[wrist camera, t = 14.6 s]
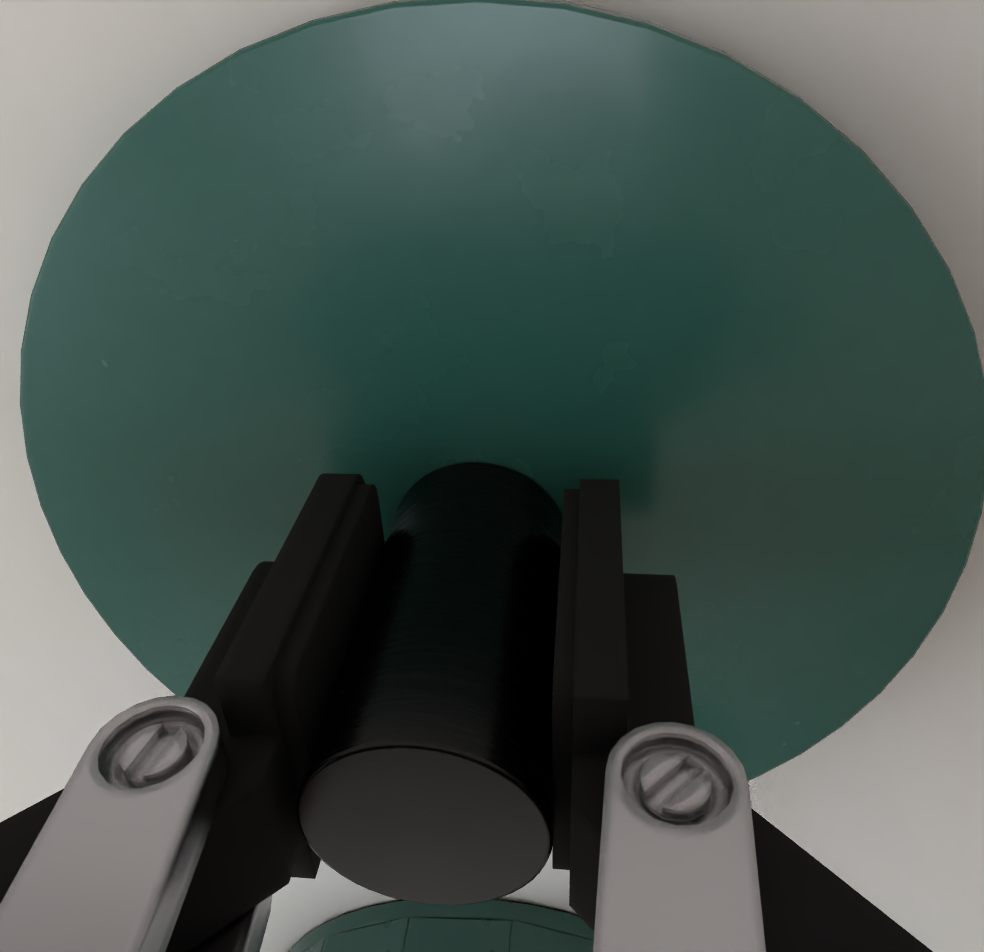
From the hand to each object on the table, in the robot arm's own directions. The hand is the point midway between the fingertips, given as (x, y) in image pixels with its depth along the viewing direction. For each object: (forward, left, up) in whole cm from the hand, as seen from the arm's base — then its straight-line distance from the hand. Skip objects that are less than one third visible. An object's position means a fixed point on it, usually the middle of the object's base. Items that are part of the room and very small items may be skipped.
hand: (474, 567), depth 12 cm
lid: (0, 0, -1) cm, 1 cm away
